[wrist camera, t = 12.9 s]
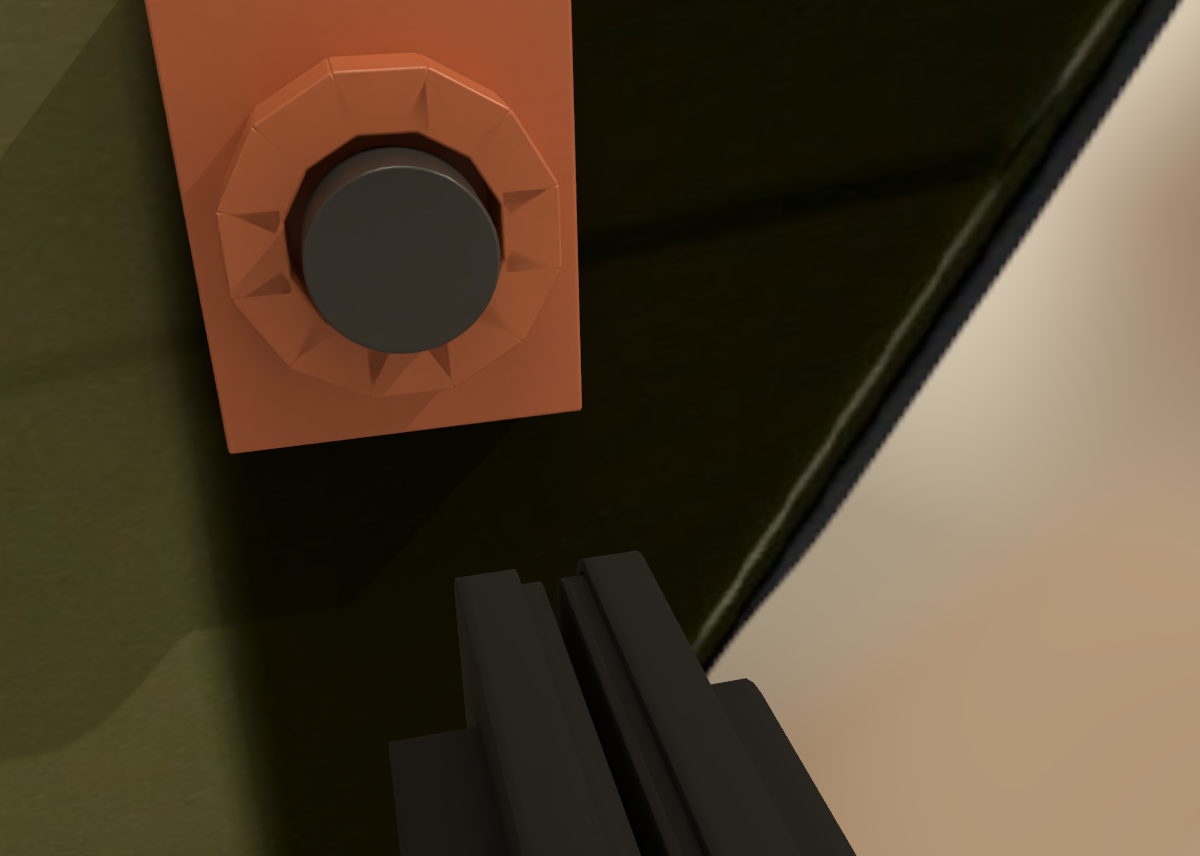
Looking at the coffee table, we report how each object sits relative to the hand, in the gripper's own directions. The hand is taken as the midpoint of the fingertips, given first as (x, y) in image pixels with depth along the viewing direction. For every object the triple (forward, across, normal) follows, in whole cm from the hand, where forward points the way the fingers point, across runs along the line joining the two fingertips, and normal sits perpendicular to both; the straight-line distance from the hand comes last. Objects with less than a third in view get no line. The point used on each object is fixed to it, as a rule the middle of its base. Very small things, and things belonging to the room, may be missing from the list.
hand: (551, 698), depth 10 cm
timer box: (+17, 0, -1) cm, 17 cm away
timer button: (+14, 0, -1) cm, 14 cm away
